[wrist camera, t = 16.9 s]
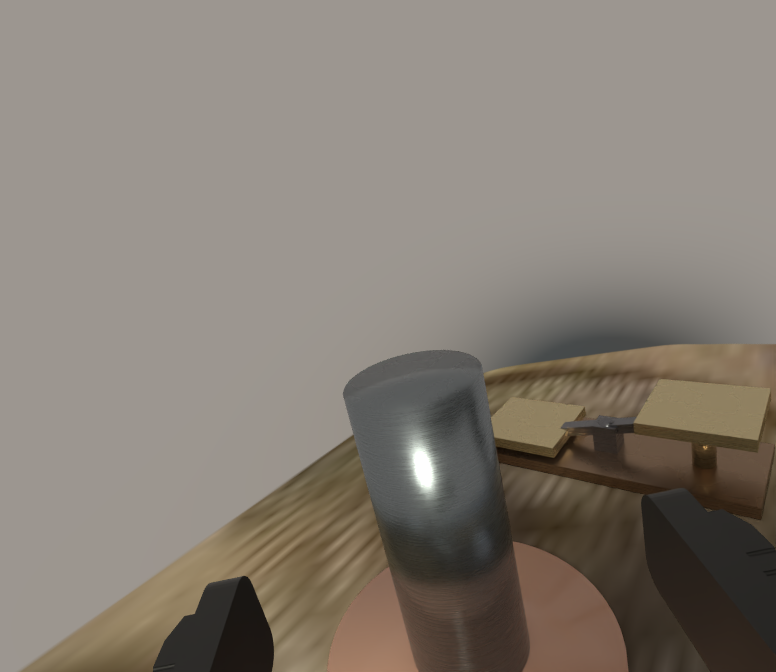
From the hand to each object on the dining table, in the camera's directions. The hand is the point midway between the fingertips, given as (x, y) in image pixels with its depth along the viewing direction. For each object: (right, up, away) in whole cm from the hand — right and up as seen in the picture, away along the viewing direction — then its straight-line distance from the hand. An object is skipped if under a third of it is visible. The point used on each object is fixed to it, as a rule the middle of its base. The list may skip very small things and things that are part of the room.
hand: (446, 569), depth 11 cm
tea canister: (+3, -10, +15) cm, 18 cm away
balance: (+15, -4, +28) cm, 32 cm away
